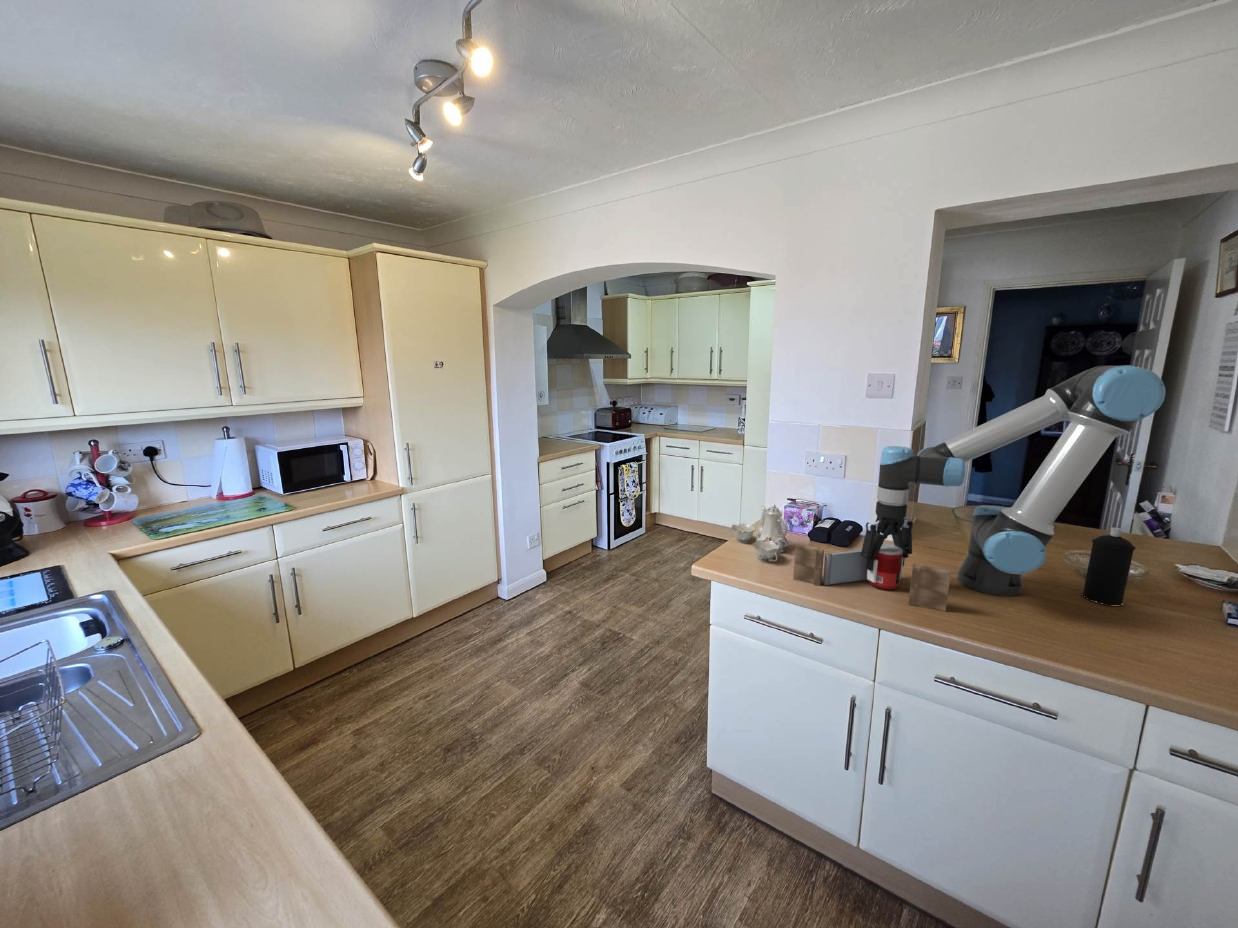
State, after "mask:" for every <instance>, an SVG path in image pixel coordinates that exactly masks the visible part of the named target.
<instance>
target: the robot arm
mask: <svg viewBox="0 0 1238 928" xmlns="http://www.w3.org/2000/svg"><path fill="white" fill-rule="evenodd" d="M1165 397H1166V386H1165V384H1164V381H1163V379H1162V378H1161V377H1160V376H1159V375H1158V374H1156V373H1155V372H1153V371H1151V370H1150V369H1147V368H1144V367H1140V366H1135V365H1129V364H1127V365H1126V364H1124V365H1111V364H1110V365H1098V366H1094V367H1092V368H1089V369H1086V370H1084V371H1082V372H1080V373H1077V374H1076V375H1073V376H1072V377H1070V378H1068V379H1067V380H1064V381H1062V382H1060V383H1058V384H1056V385H1054V386H1052V387H1050V388H1048V389H1047V390H1046V392H1045V394H1044V395H1043V396H1041V397H1038V398H1035V399H1034V400H1032V401H1029V402H1027V403H1025V404H1023V405H1021V406H1019V407H1017V408H1015V409H1012V410H1009V411H1008V412H1006V413H1004V414H1001V415H1000V416H997V417H995V418H992V419H991V420H988V421H986V422H985V423H983V424H980V425H978V426H975V427H973V428H972V429H969V430H967V431H964V432H962V433H960V434H958V435H957V436H955V437H952V438H949V439H947V440H946V441H944V442H942V443H939V444H937V445H935V446H928V447H925V448H923V449H921V450H920V451H919V452H918V453H917V455H916V454H915V453H914V450H913V448H911V447H908V446H907V447H906V446H897V445H891V446H885V447H883V449H882V450H881V455H880V462H879V472H878V473H879V474H878V486H877V494H876V499H877V501H876V506H875V515H876V519H875V520H874V522H871V523H870V522H866V523H865V534H864V539H863V542H862V547H861V550H862V551H861V556H863V557H865V558H867V564H866V568H867V569H868V571H867V581H869V580H870V581H872V582H873V583H874V582H876V576H877V566H878V560H876V557H877V555H878V553H879V551H880V548H881V546H882V544H883V543H884V541H885V540H886V539H888V537H889V536H890V535H891V537H892V540H893V541H892V542H893V545H895V546H897V547H900V548H901V549H902V550H903V557H902V565H901V573H900V580H901V579H902V575H903V568H904V566H905V559H907V558H909V555H912V554H913V537H912V536H913V535H912V534H913V533H912V532H913V531H912V529H913V525H914V521H912V520H909V519H907V518H906V517H907V512H908V505H907V503H909V502H908V501H909V493H910V484H921V485H933V486H943V487H960V486H962V485H963V484H964V481H965V477H966V463H967V462H969V461H972V460H974V459H976V458H978V457H981V456H983V455H985V454H988V453H990V452H993V451H995V450H997V449H999V448H1002V447H1004V446H1006V445H1009V444H1011V443H1013V442H1016V441H1018V440H1021V439H1022V438H1025V437H1027V436H1029V435H1032V434H1034V433H1036V432H1039V431H1041V430H1043V429H1045V428H1048V427H1050V426H1052V425H1055V424H1057V423H1059V422H1063V421H1066V422H1069V423H1068V425H1067V426H1066V428H1065V429H1064V431H1063V432H1062V434H1061V435H1060V437H1059V438H1058V440H1057V441H1056V442H1055V444H1054V446H1053V447H1052V449H1051V450H1049V451H1050V452H1048V454H1047V456H1046V457H1045V459H1044V460H1043V461H1042V463H1041V464H1040V466H1039V467H1038V469H1037V470H1036V471H1035V473H1034V475H1033V476H1032V478H1031V479H1030V480H1029V481H1028V483H1027V485H1026V486H1025V487H1024V489H1023V490H1022V491H1021V493H1020V495H1019V496H1018V498H1017V499H1016V500H1015V502H1014V504H1013V505H1012V506H1010V507H1008V506H1000V505H988V504H987V505H985V504H984V505H981V504H980V505H978V506H976V507H975V508H974V511H973V514H972V523H971V529H970V530H971V531H970V536H969V545H968V552H967V555H966V557H965V559H964V560H963V562H962V563H961V565H960V567H959V568H958V571H957V576H956V578H957V580H958V582H959V583H960V584H962V585H964V586H965V587H968V588H970V589H972V590H974V591H978V592H981V593H985V594H990V595H994V596H1003V597H1005V596H1006V597H1009V596H1010V597H1011V596H1019V595H1021V594H1022V593H1023V589H1024V579H1023V577H1022V575H1025V574H1029V573H1032V572H1034V571H1036V570H1038V569H1039V568H1040V567H1041V566H1042V565H1043V563H1044V562H1045V561H1046V556H1047V550H1046V546H1047V545H1048V543H1049V542H1050V541H1051V539H1052V538H1053V537H1054V535H1055V532H1054V528H1053V523H1054V522H1055V521H1056V520H1057V518H1058V516H1060V514H1061V513H1062V511H1064V508H1065V507H1066V506H1067V505H1068V503H1069V501H1070V500H1071V499H1072V497H1073V496H1074V494H1075V493H1076V492H1077V491H1078V489H1079V488H1080V487H1081V485H1082V484H1083V482H1084V481H1085V480H1086V478H1088V476H1089V474H1090V473H1091V471H1092V470H1093V469H1094V467H1095V466H1096V465H1097V463H1098V462H1099V460H1100V459H1101V458H1102V457H1103V455H1104V454H1105V453H1106V451H1107V449H1108V448H1109V447H1110V445H1111V444H1112V442H1113V441H1114V440H1115V439H1116V438H1117V437H1119V436H1120V437H1121V436H1124V435H1128V434H1130V432H1131V431H1132V429H1133V428H1134V427H1135V426H1136V425H1137V423H1138V422H1139V420H1143V419H1145V418H1147V417H1148V416H1151V415H1152V414H1154V413H1155V412H1156V411H1157V410H1158V409H1160V407H1161V406H1162V404H1163V403H1164V401H1165ZM871 554H872V555H871Z"/></svg>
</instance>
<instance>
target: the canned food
mask: <svg viewBox="0 0 1238 928" xmlns="http://www.w3.org/2000/svg"><path fill="white" fill-rule="evenodd" d="M871 555H872V554H871ZM902 557H903V550H902V549H901V548H900V547H897V546H895V545H894V544H890V543H884V542H883V544H882V546H881V548H880V551H879V553H878V555H877V557H876V560H878V566H877V576H876V582H874V583H873V582H872V581H870V580H868V582H869V584H870V585H872V586H874V587H875V588H879V589H883V590H896V589H898V588H899V585H900V580H901V579H900V573H901V565H902Z"/></svg>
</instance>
